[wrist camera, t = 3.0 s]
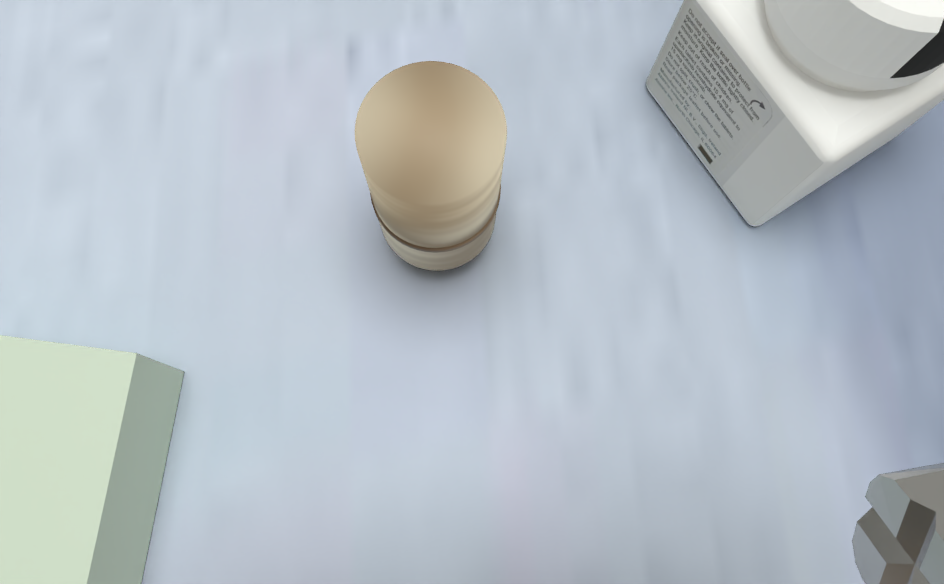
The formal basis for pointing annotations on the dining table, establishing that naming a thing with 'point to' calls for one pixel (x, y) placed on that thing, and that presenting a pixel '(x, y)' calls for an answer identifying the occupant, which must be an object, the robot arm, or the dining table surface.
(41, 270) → the dining table surface
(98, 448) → the hole block
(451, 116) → the peg
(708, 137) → the container
